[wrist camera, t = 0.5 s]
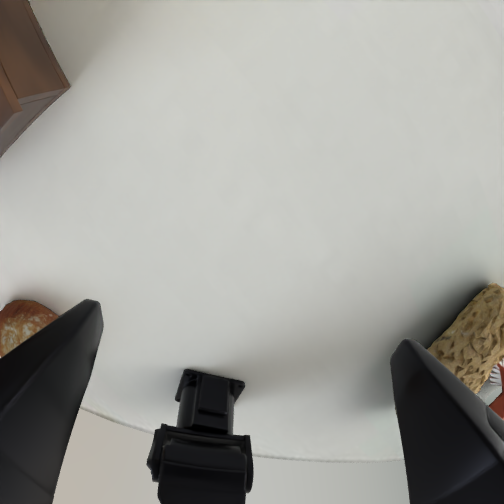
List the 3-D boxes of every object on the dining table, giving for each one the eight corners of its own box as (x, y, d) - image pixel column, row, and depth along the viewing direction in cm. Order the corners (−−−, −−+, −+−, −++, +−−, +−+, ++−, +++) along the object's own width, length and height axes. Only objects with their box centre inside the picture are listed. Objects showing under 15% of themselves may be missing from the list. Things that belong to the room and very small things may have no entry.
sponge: (470, 260, 25) (351, 410, 30) (527, 302, 18) (384, 464, 23) (499, 295, 31) (407, 409, 36) (539, 328, 24) (435, 448, 29)
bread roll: (81, 344, 34) (88, 398, 28) (9, 348, 29) (7, 402, 23) (69, 283, 29) (71, 342, 23) (-14, 288, 24) (-27, 346, 18)
